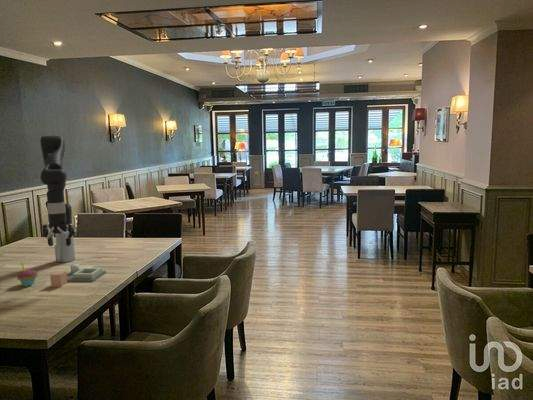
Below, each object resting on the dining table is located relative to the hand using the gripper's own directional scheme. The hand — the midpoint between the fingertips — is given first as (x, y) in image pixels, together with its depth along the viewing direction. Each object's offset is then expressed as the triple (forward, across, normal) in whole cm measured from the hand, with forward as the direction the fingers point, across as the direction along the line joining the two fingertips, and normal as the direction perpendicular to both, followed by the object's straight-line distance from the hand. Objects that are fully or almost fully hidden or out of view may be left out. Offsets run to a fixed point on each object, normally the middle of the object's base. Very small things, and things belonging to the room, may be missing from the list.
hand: (59, 245), depth 189 cm
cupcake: (+19, -17, 0) cm, 26 cm away
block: (+19, -1, -1) cm, 19 cm away
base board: (+19, +4, +11) cm, 22 cm away
